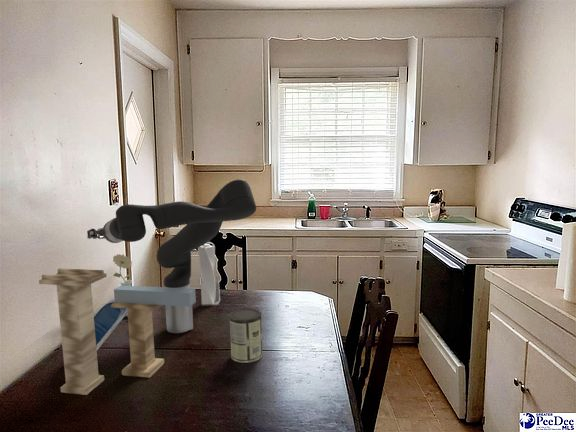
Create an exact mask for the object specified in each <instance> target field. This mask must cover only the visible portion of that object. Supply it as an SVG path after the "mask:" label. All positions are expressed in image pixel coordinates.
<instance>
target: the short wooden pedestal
mask: <svg viewBox="0 0 576 432" xmlns="http://www.w3.org/2000/svg"><path fill="white" fill-rule="evenodd" d="M111 307H114V308H127V313H128V316H127V323H128V335H129V337H128V338H129V353H130V363H129V364H127V365H126V366H125V367H123V369H122V370H121V375H122V376H127V377H140V378H149V379H150V378H151V377H152V376H154V374H155V373H156V372H157V371H158V370H159V369H160V368H161V367H162V366H163V365H164V364H165V358H158V357H156V356H155V355H156V354H155V342H154V341H155V340H154V327H153V326H154V325H153V311H155V310H157V309H159V308H160V307H162V305H152V304H134V303H117V302H114V303H112V304H111Z"/></svg>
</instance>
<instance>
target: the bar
mask: <svg viewBox="0 0 576 432" xmlns="http://www.w3.org/2000/svg"><path fill="white" fill-rule="evenodd" d="M113 295H114V296H113V297H114V299H115V302H117V303H134V304H152V305H161V306H165V305H169V306H187V307H190V306H192V307H193V305H194V304H195V303H196V302H197V300H196V296H197V295H196V288H190V289H186V288H165V287H164V286H162V287H161V286H141V285H131V286H124V285H121V284H120V286H117V287H116V288H114V289H113ZM114 299H113V300H114Z"/></svg>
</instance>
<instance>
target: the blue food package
mask: <svg viewBox="0 0 576 432" xmlns="http://www.w3.org/2000/svg"><path fill="white" fill-rule="evenodd" d="M114 302H115V299H112V300H110V301H109V302H108V303H106V304H104V305H103V306H102V307H100V309H99V311H97V313H96V314H95V315H94V326H95V338H96V350H97V351H98V350H99V349H100V348H101V346H102V345H103V344H104V343H105V341H106V340H107V339H108V338H109V336H110V335H111V334H112V333H113V331H114V330H115V329H116V328H117V327H118V325H119V324H120V322H122V320H123V319H124V318H125V317H126V316H125V315H126V314H127V308H114V307H111V304H112V303H114Z"/></svg>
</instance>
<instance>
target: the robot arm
mask: <svg viewBox="0 0 576 432" xmlns="http://www.w3.org/2000/svg"><path fill="white" fill-rule="evenodd" d="M256 211H257V205H256V201H255V199H254V196H253V192H252V189H251V187H250V184H249V183H248V182H247V180H245V179H242V178H240V179H239V178H237V179H235V180H234V179H233V180H231V181H229V182H228V183H226V184H225V185H223V187H221V188H220V190H219V191H218V192H217V193H216V194H215V196H214V197H213V198H212V199H211V200H210V202H209V203H208V204H207V205H206V206H202V205H198V204H196V203H192V202H188V201H173V202H168V203H163V204H156V205H142V204H141V205H139V204H123V205H121V206H120V207H118V208H117V209H116V210H115V217H113V218H112V219H110V220H109V221H107V222H106V223H105V224H104V225H103V227H101V228H100V227H99V228H97V229H95V228H90V229H88V230H87V232H86V233H87V234H86V235H87V237H86V238H87V239H88V240H90V239H93V240H97V239H98V240H106V241H108V242H109V243H111V244H118V243H121V242H128V243H132V242H138V241H141V240H143V239H144V238H145V236H146V234H147V228H146V223H145V219H144V216H143V215H146V216H148V217H150V218H151V220H152V222H153V226H154V227H155V229H157V230H165V229H170V228H175V227H179V226H184V225H185V226H184V227H182V228H181V229H180V230H179V231H178V232H177V233H176V234H175V235H173V237H171V238H170V239H168V240H166V241H165V242H164V243H162V244H161V245H160V246H159V247H158V249H157V252H156V261H157V263H158V264H159V266H161V268H163V269H172V270H171V272H170V273H168V274H167V275H166V276H165V277H164V278H163V287H165V288H186V289H191V285H190V283H191V282H190V279H191V276H192V252H191V251H194V250H196V249H198V247H200V246H203V245H204V244H208V243H207V242H211V240H212V239H213V238H215V237H216V236H217V235H218V233H219V231H220V230H221V228H222V224H223V222H230V221H238V220H243V219H247V218H250V217H251V216H252V215H254V214H255V213H256ZM164 306H165V322H166V332H168V333H171V334H180V333H181V334H182V333H186V332H188V331H191V330H194V321H193V320H194V319H193V318H194V316H193V315H194V314H193V305H192V306H190V307H187V306H169V305H164Z"/></svg>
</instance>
